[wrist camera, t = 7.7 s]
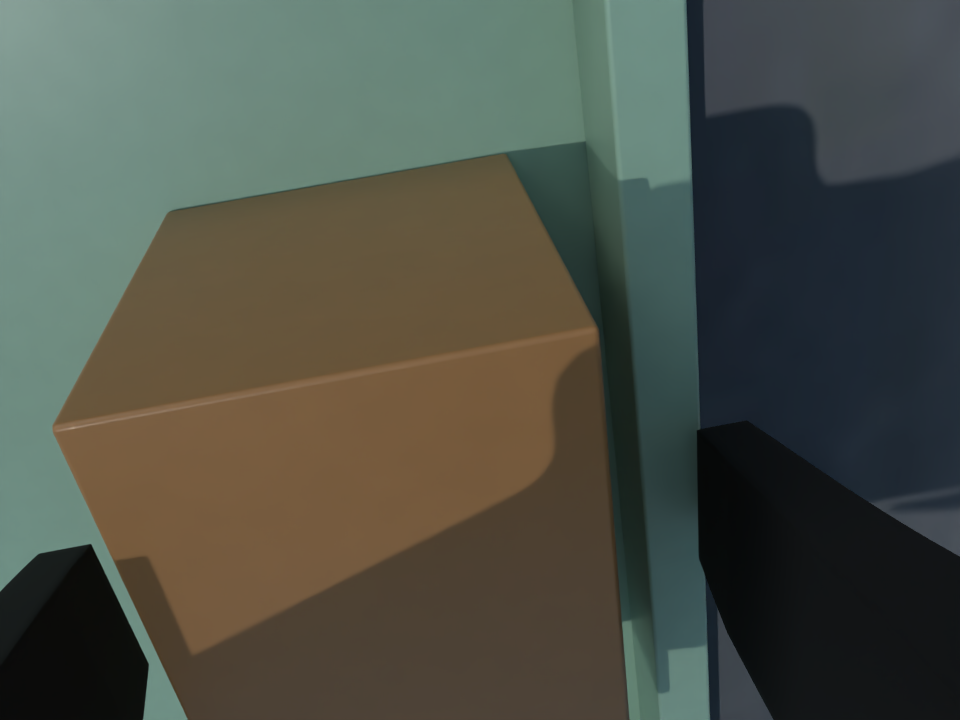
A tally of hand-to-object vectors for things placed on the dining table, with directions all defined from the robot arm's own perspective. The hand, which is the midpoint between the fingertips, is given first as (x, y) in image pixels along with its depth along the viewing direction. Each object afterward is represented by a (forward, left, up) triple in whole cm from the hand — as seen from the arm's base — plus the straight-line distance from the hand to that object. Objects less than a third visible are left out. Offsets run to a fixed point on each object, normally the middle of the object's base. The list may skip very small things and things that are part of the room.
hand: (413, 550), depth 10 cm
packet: (0, 0, -2) cm, 2 cm away
